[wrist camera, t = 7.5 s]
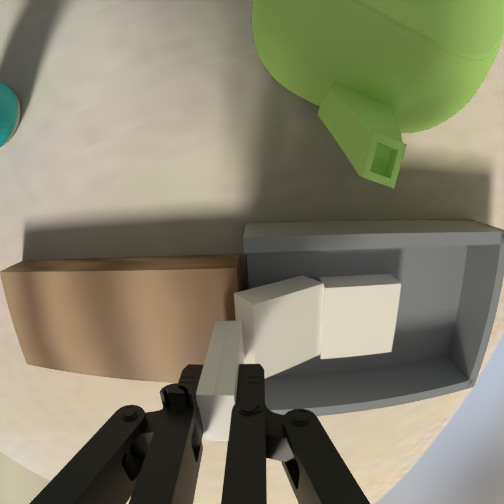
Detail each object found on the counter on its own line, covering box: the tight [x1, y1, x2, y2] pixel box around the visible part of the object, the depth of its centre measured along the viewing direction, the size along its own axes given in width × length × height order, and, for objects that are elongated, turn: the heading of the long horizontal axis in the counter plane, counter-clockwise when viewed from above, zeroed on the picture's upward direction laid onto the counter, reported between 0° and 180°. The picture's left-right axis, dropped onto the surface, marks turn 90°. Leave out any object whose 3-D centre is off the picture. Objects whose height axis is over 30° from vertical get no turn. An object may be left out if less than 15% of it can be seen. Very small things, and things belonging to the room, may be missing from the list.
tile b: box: [319, 274, 401, 359], centre depth 20 cm, size 5×5×2 cm
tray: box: [243, 220, 504, 416], centre depth 19 cm, size 17×12×4 cm
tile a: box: [234, 275, 324, 378], centre depth 19 cm, size 5×5×2 cm
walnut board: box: [0, 254, 241, 383], centre depth 21 cm, size 18×8×3 cm, turn 92°
